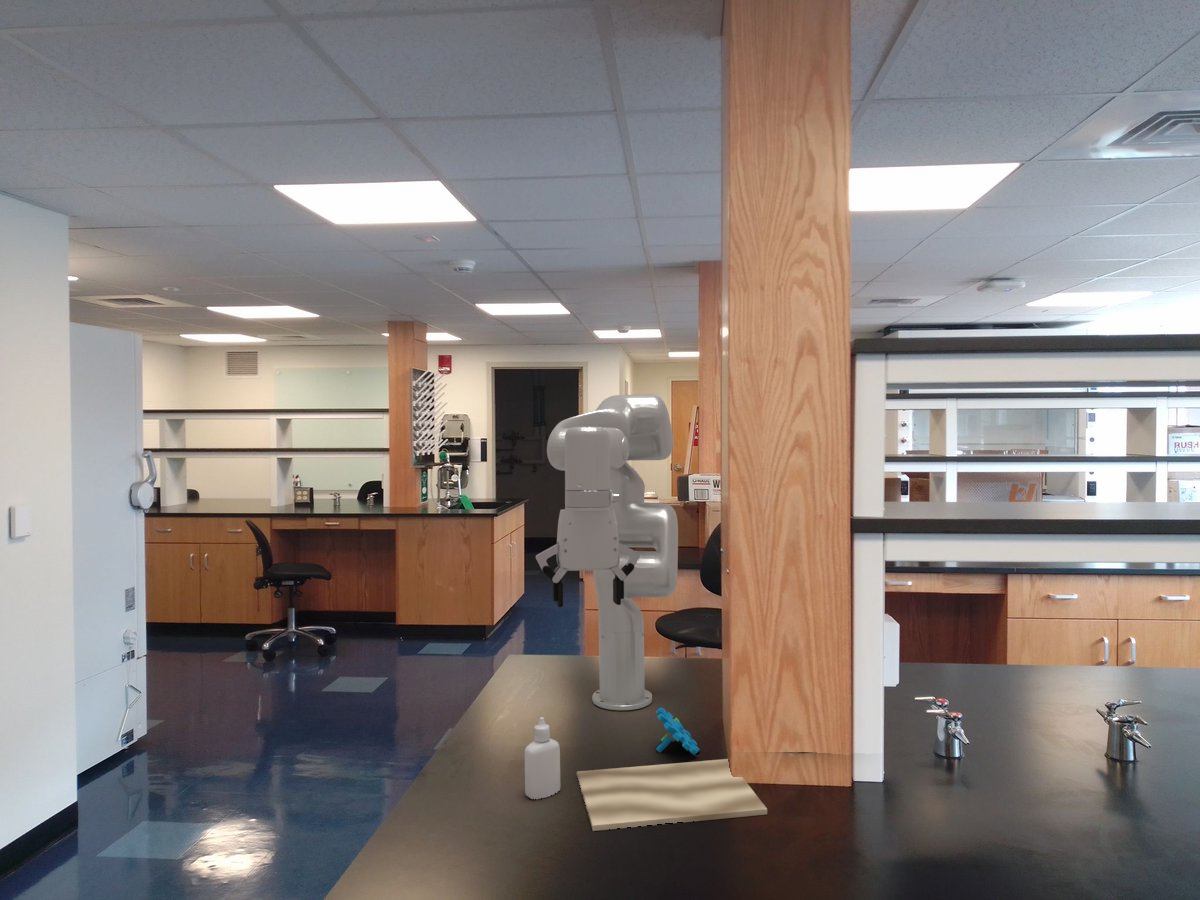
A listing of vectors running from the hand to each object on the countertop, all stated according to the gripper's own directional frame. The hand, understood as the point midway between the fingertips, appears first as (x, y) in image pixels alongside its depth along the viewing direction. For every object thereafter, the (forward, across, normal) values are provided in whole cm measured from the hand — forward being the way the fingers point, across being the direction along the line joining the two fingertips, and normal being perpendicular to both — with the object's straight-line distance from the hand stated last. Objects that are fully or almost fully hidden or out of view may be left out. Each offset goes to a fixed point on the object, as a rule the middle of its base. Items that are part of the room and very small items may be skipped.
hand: (588, 604), depth 129 cm
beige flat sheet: (+28, -11, +9) cm, 32 cm away
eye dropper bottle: (+29, +8, +4) cm, 30 cm away
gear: (+28, -17, -7) cm, 34 cm away
